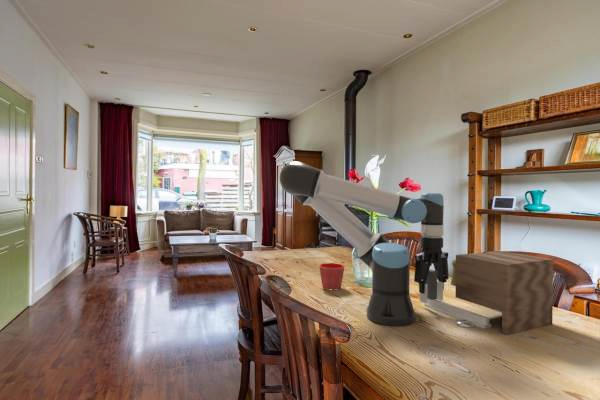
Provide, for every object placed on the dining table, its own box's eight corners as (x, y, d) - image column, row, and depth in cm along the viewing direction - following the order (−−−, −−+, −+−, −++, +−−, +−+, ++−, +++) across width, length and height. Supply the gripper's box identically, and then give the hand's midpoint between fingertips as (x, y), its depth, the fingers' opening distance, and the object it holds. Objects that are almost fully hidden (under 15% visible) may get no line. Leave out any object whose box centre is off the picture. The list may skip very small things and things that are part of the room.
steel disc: (470, 329, 106) (470, 326, 106) (453, 325, 109) (453, 322, 109) (475, 325, 109) (475, 322, 109) (458, 321, 113) (458, 318, 113)
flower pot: (348, 287, 154) (348, 264, 154) (337, 292, 144) (337, 268, 144) (326, 283, 159) (327, 262, 159) (314, 289, 150) (314, 266, 150)
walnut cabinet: (506, 335, 101) (507, 264, 101) (455, 315, 117) (455, 255, 117) (552, 324, 110) (553, 259, 109) (498, 307, 126) (499, 250, 126)
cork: (467, 286, 154) (467, 261, 154) (452, 286, 156) (452, 260, 155) (463, 283, 160) (463, 259, 160) (449, 282, 161) (449, 258, 161)
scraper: (483, 329, 106) (484, 285, 106) (424, 306, 128) (424, 270, 128) (491, 327, 107) (491, 284, 107) (431, 305, 129) (431, 269, 129)
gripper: (444, 234, 134) (443, 295, 134) (403, 236, 126) (402, 301, 126) (460, 236, 127) (459, 300, 128) (418, 239, 119) (417, 307, 119)
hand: (431, 300), depth 127 cm, fingers open, 7 cm apart
